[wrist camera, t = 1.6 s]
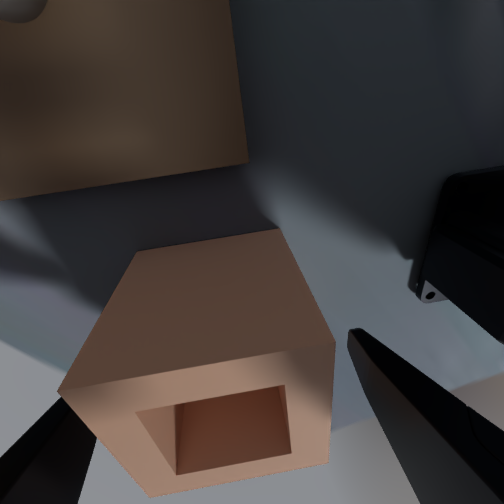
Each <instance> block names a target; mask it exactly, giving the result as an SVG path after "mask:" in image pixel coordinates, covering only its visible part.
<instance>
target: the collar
mask: <svg viewBox="0 0 504 504" xmlns="http://www.w3.org/2000/svg"><path fill="white" fill-rule="evenodd" d="M335 346H336V341H335V339H334V337H333V335H332V333H331V331H330V329H329V327H328V325H327V323H326V321H325V319H324V317H323V315H322V313H321V311H320V309H319V307H318V305H317V303H316V301H315V299H314V297H313V295H312V293H311V291H310V289H309V287H308V285H307V283H306V281H305V278H304V276H303V274H302V272H301V270H300V268H299V266H298V264H297V262H296V260H295V258H294V256H293V254H292V252H291V250H290V248H289V246H288V244H287V242H286V240H285V238H284V236H283V234H282V232H281V230H280V228H279V229H272V230H266V231H260V232H254V233H248V234H242V235H235V236H229V237H223V238H217V239H211V240H204V241H198V242H192V243H186V244H180V245H174V246H167V247H161V248H155V249H149V250H143V251H137V252H136V254H135V256H134V257H133V259H132V261H131V263H130V264H129V266H128V268H127V270H126V271H125V273H124V275H123V277H122V278H121V280H120V282H119V284H118V285H117V287H116V289H115V291H114V292H113V294H112V296H111V298H110V299H109V301H108V303H107V305H106V306H105V308H104V310H103V312H102V313H101V315H100V317H99V319H98V320H97V322H96V324H95V326H94V327H93V329H92V331H91V333H90V334H89V336H88V338H87V340H86V341H85V343H84V345H83V347H82V348H81V350H80V352H79V354H78V355H77V357H76V359H75V361H74V362H73V364H72V366H71V368H70V369H69V371H68V373H67V375H66V376H65V378H64V380H63V382H62V384H61V385H60V387H59V389H58V391H57V392H58V393H59V394H60V396H61V397H62V398H63V399H64V400H65V401H66V402H67V404H68V405H69V406H70V407H71V408H72V409H73V410H74V412H75V413H76V414H77V415H78V416H79V417H80V418H81V420H82V421H83V422H84V423H85V424H86V425H87V427H88V428H89V429H90V430H91V431H92V432H93V433H94V435H95V436H96V437H97V438H98V439H99V440H100V441H101V443H102V444H103V445H104V446H105V447H106V448H107V449H108V450H109V452H110V453H111V454H112V455H113V456H114V457H115V459H116V460H117V461H118V462H119V463H120V464H121V465H122V467H123V468H124V469H125V470H126V471H127V472H128V474H129V475H130V476H131V477H132V478H133V479H134V480H135V481H136V483H137V484H138V485H139V486H140V487H141V488H142V489H143V491H144V492H145V493H146V494H147V495H148V496H149V497H150V498H151V497H157V496H162V495H167V494H172V493H178V492H183V491H188V490H193V489H198V488H203V487H208V486H213V485H219V484H224V483H229V482H234V481H240V480H245V479H250V478H255V477H260V476H265V475H270V474H275V473H281V472H286V471H291V470H296V469H301V468H307V467H312V466H317V465H322V464H327V463H329V446H330V430H331V413H332V396H333V379H334V363H335Z"/></svg>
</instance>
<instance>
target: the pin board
mask: <svg viewBox="0 0 504 504" xmlns="http://www.w3.org/2000/svg"><path fill="white" fill-rule="evenodd" d="M245 163H249V155H248V147H247V139H246V131H245V123H244V115H243V107H242V99H241V91H240V83H239V75H238V67H237V59H236V51H235V43H234V35H233V28H232V20H231V12H230V4H229V0H0V201H3V200H10V199H16V198H23V197H30V196H36V195H43V194H49V193H56V192H62V191H69V190H75V189H82V188H88V187H95V186H101V185H108V184H115V183H121V182H128V181H134V180H141V179H147V178H154V177H160V176H167V175H173V174H180V173H187V172H193V171H200V170H206V169H213V168H219V167H226V166H232V165H239V164H245Z"/></svg>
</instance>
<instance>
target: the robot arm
mask: <svg viewBox="0 0 504 504" xmlns="http://www.w3.org/2000/svg"><path fill="white" fill-rule="evenodd" d="M459 184H460V186H459V188H458V189H457V190H456V188H457V186H458V185H459ZM416 296H417V297H418V298H419V299H420V300H421V301H422V302H423V303H432V302H438V301H443V300H450V301H451V302H452V303H453V304H455V305H456V306H457V307H458V308H459V309H461V310H462V311H463V312H464V313H465V314H467V315H468V316H469V317H470V318H471V319H472V320H474V321H475V322H476V323H477V324H478V325H480V326H481V327H482V328H483V329H484V330H486V331H487V332H488V333H489V334H490V335H491V336H493V337H494V338H495V339H496V340H497V341H499V342H500V343H502V344H503V345H504V166H499V167H493V168H487V169H480V170H474V171H468V172H461V173H456V174H454V175H452V176H450V177H449V178H448V179H447V180H446V181H445V183H444V185H443V187H442V191H441V195H440V199H439V203H438V207H437V210H436V214H435V218H434V222H433V226H432V230H431V234H430V238H429V242H428V246H427V250H426V254H425V258H424V262H423V266H422V269H421V273H420V277H419V281H418V285H417V289H416ZM347 348H348V351H349V354H350V357H351V359H352V362H353V364H354V367H355V370H356V372H357V375H358V377H359V380H360V383H361V385H362V388H363V390H364V393H365V395H366V397H367V399H368V401H369V403H370V405H371V407H372V409H373V411H374V413H375V415H376V417H377V419H378V421H379V423H380V425H381V427H382V429H383V431H384V433H385V435H386V437H387V439H388V441H389V443H390V445H391V446H392V449H393V451H394V453H395V454H396V457H397V458H398V460H399V462H400V464H401V466H402V468H403V470H404V472H405V474H406V476H407V478H408V480H409V482H410V484H411V486H412V488H413V490H414V492H415V494H416V496H417V498H418V500H419V502H420V504H504V431H503V430H501V429H500V428H498V427H497V426H496V425H494V424H493V423H491V422H490V421H489V420H487V419H486V418H484V417H483V416H481V415H480V414H479V413H477V412H476V411H475V410H473V409H472V408H470V407H469V406H466V404H465V403H463V402H462V401H461V400H459V399H458V398H457V397H455V396H454V395H452V394H451V393H450V392H448V391H447V390H446V389H444V388H443V387H441V386H440V385H439V384H437V383H436V382H435V381H433V380H432V379H430V378H429V377H428V376H426V375H425V374H424V373H422V372H421V371H419V370H418V369H417V368H415V367H414V366H413V365H411V364H410V363H408V362H407V361H406V360H404V359H403V358H402V357H400V356H399V355H398V354H396V353H395V352H393V351H392V350H391V349H389V348H388V347H387V346H385V345H384V344H382V343H381V342H380V341H378V340H377V339H376V338H374V337H373V336H371V335H370V334H369V333H367V332H366V331H365V330H363V329H361V328H355V329H350V330H349V332H348V341H347ZM96 439H97V437H96V436H95V435H94V433H93V432H92V431H91V430H90V429H89V428H88V427H87V425H86V424H85V423H84V422H83V421H82V420H81V418H80V417H79V416H78V415H77V414H76V413H75V412H74V410H73V409H72V408H71V407H70V406H69V405H68V404H67V402H66V401H65V400H64V399H63V398H62V397H61V398H60V399H58V400H57V401H56V402H55V404H54V405H52V406H51V407H50V408H49V410H47V411H46V412H45V413H44V414H43V415H42V416H41V417H40V418H39V419H38V420H37V421H36V422H35V424H34V425H32V426H31V427H30V428H29V429H28V430H27V431H26V432H25V433H24V434H23V435H22V436H21V437H20V438H19V439H18V440H17V441H16V442H15V443H14V444H13V445H12V446H11V447H10V448H9V449H8V450H7V451H6V452H5V453H4V454H3V455H2V456H1V457H0V504H78V500H79V497H80V494H81V491H82V487H83V484H84V481H85V477H86V474H87V470H88V467H89V464H90V461H91V457H92V454H93V451H94V447H95V443H96Z"/></svg>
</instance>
